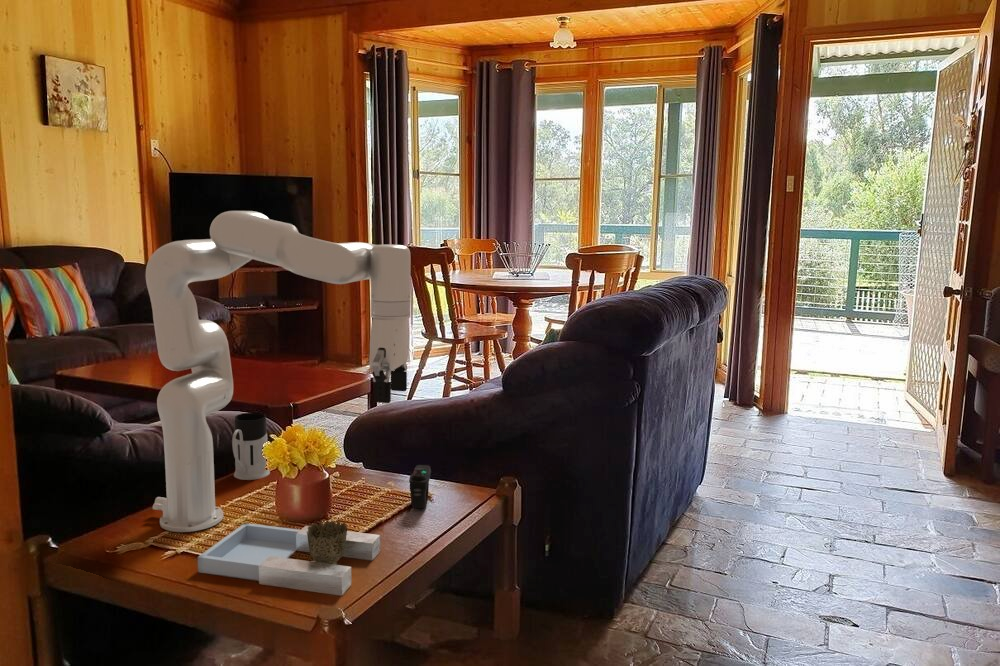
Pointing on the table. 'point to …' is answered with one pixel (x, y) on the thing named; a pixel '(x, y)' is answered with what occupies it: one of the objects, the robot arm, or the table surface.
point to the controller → (420, 485)
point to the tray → (247, 550)
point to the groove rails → (318, 566)
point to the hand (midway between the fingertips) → (390, 396)
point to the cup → (327, 541)
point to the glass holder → (249, 446)
